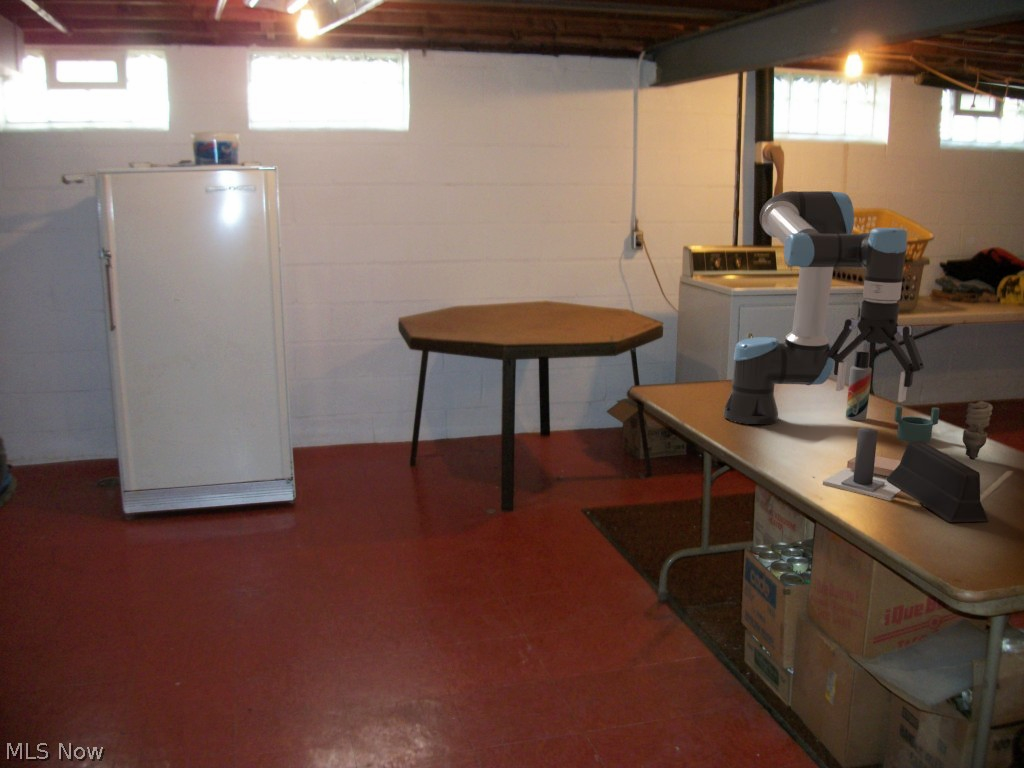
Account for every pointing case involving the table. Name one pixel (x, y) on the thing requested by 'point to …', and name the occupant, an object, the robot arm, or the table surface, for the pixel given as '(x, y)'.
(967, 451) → the light bulb
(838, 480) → the board
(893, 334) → the robot arm
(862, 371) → the lotion bottle
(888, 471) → the tile
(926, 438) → the bracket
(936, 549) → the table surface
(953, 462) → the barrier
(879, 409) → the table surface
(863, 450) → the tool handle
